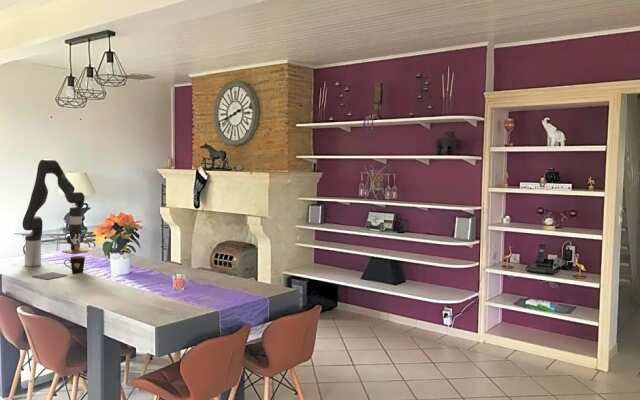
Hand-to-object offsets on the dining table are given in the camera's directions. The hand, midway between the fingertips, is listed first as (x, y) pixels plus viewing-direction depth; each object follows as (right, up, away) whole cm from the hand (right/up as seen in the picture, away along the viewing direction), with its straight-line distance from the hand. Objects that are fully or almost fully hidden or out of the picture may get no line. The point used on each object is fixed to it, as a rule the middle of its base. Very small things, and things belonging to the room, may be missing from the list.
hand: (75, 249), depth 340 cm
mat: (-10, -16, -12) cm, 22 cm away
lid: (0, -2, 0) cm, 2 cm away
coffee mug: (0, -15, +1) cm, 15 cm away
